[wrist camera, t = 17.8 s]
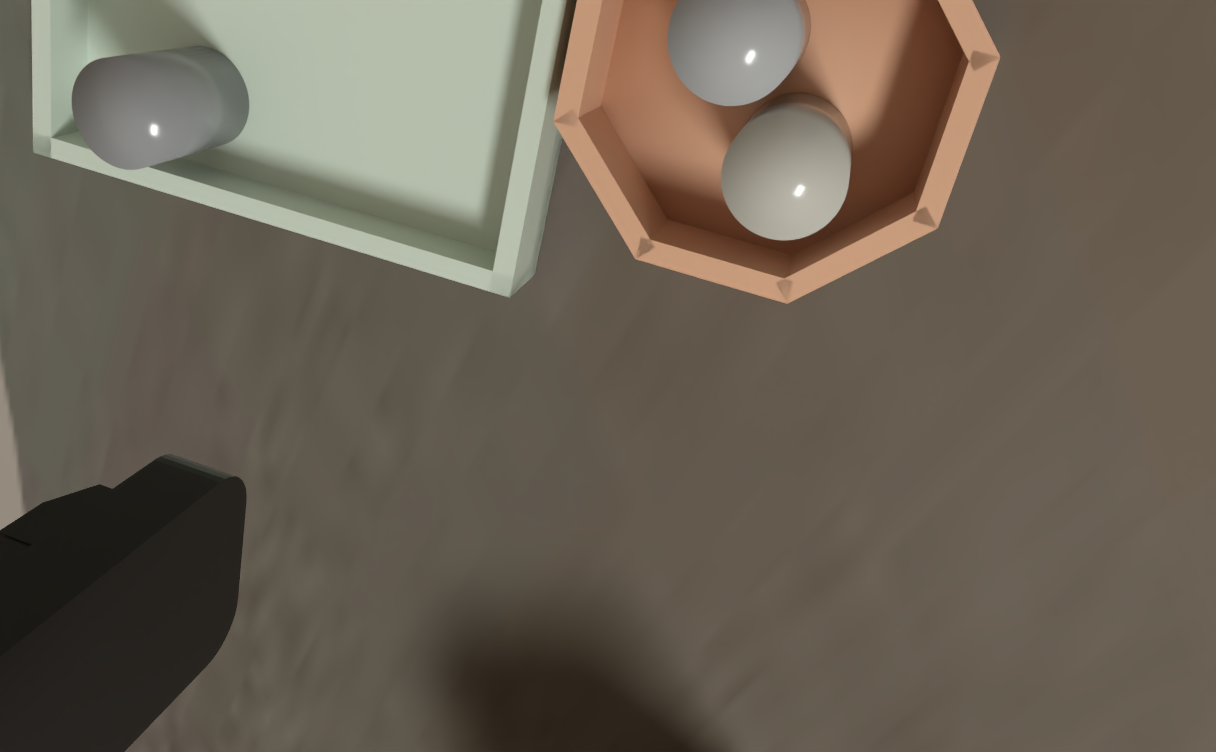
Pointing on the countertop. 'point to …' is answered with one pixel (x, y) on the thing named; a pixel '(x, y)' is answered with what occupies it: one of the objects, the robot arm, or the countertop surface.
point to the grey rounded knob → (159, 105)
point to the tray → (349, 118)
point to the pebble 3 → (788, 167)
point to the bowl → (703, 131)
